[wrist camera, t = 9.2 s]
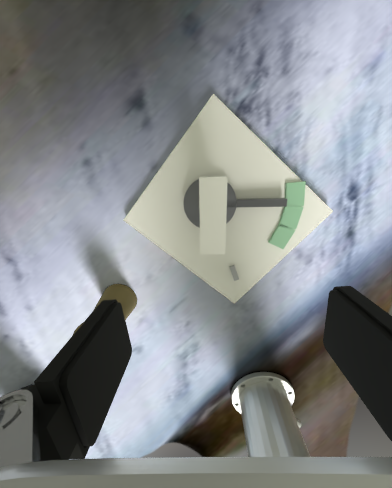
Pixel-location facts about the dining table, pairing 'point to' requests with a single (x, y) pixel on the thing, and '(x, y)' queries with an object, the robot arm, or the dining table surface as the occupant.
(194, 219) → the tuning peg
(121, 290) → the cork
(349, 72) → the dining table surface
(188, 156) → the dial board
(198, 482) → the robot arm
